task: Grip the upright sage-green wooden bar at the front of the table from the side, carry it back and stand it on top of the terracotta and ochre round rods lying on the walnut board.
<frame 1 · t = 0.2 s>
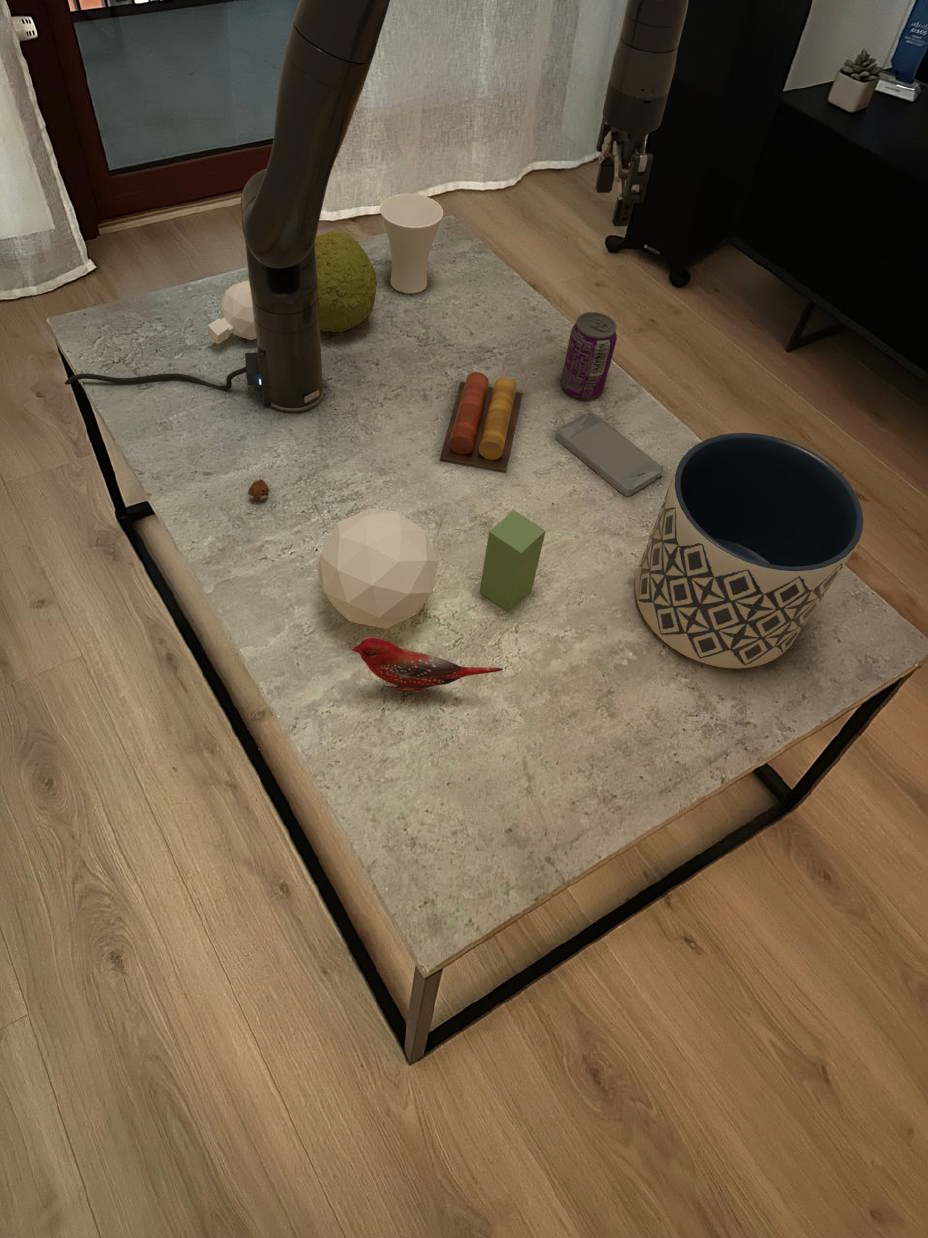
hand: (611, 207, 123), 29 cm above the table, tool pointing down, fingers open, 8 cm apart
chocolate: (260, 499, 125), on the table
decorative bird figurine: (424, 692, 109), on the table
geometric sphere: (377, 604, 116), on the table
fruit: (333, 317, 151), on the table
planter: (714, 603, 121), on the table
perfume bottle: (243, 335, 146), on the table
rod rack: (482, 426, 138), on the table
phone: (607, 456, 137), on the table
beverage can: (581, 388, 146), on the table
cup: (408, 284, 159), on the table
green bar: (505, 591, 119), on the table
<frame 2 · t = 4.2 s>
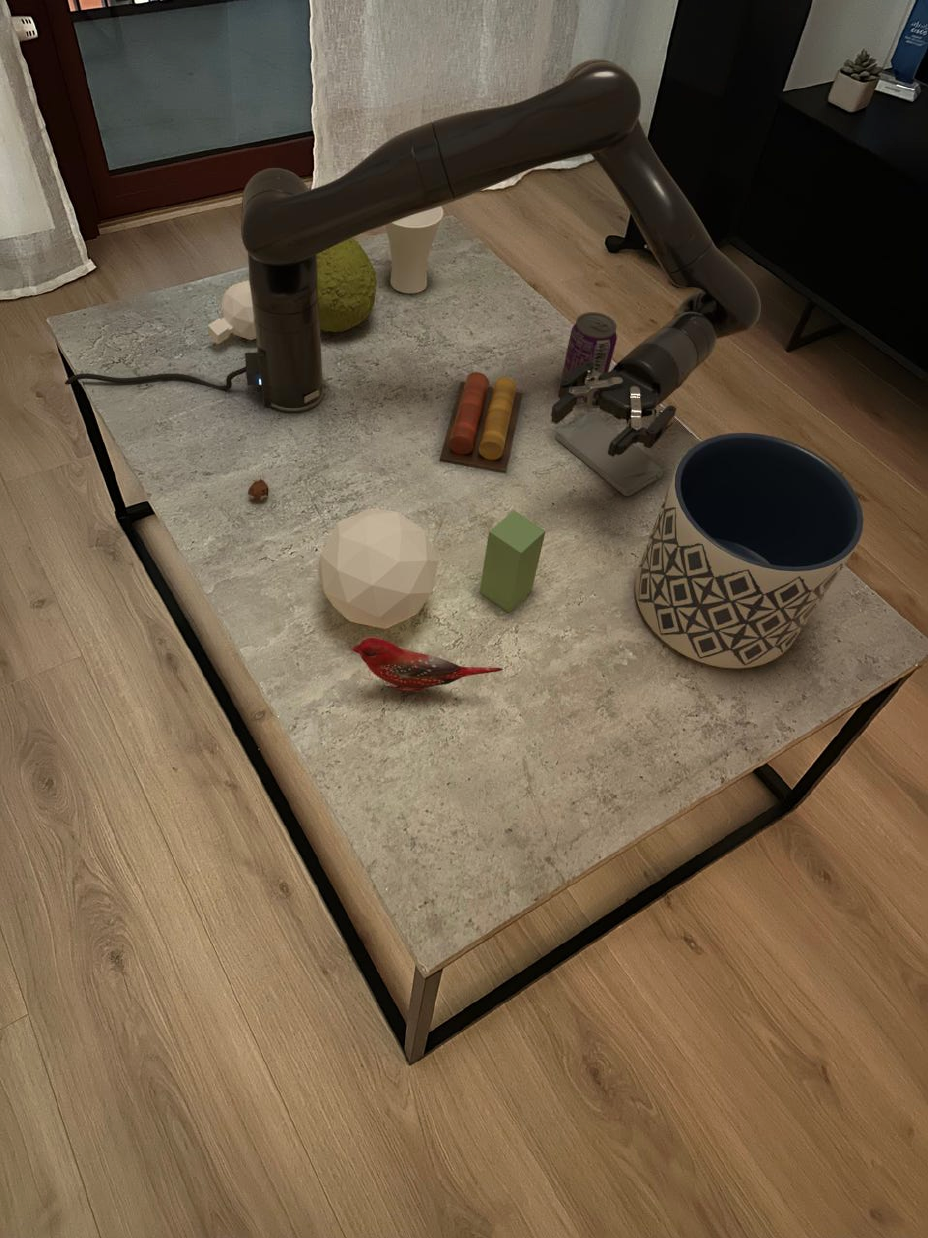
hand: (582, 433, 109), 20 cm above the table, tool horizontal, fingers open, 8 cm apart
nothing on the table moved.
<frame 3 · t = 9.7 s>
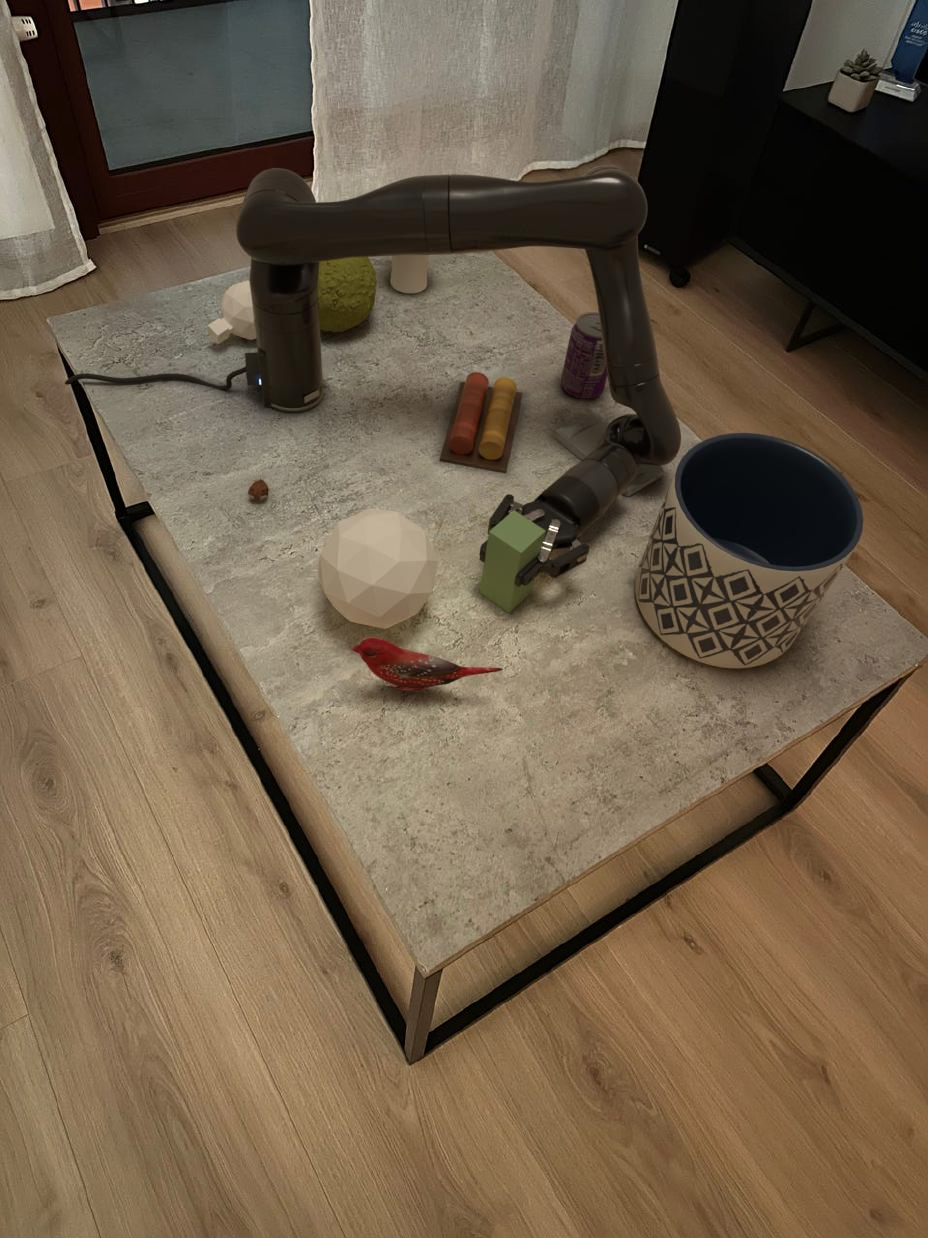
hand: (499, 569, 112), 7 cm above the table, tool horizontal, fingers closed on green bar, 5 cm apart
green bar: (505, 591, 119), on the table, touching gripper
everything else where it was.
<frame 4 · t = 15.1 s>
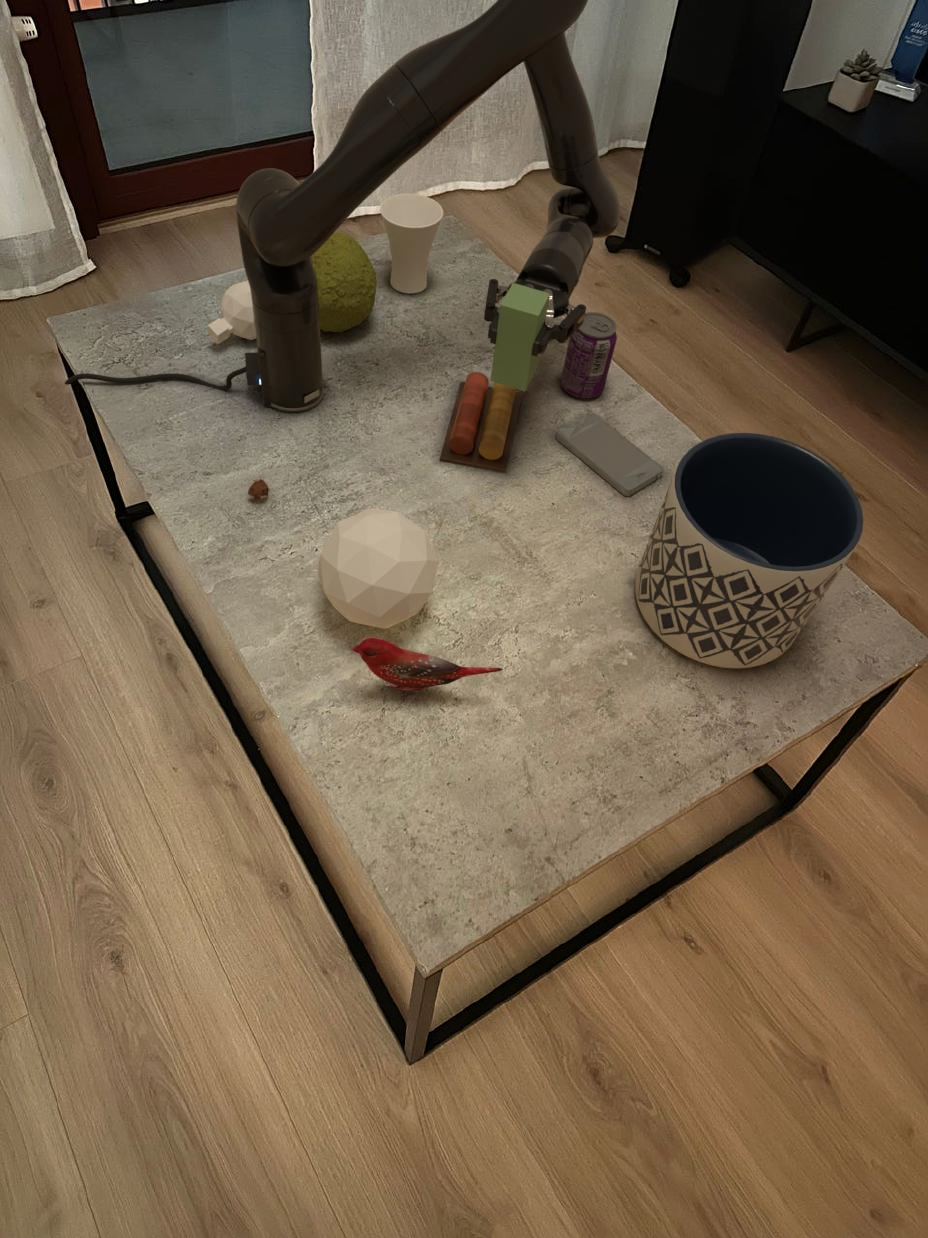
hand: (514, 343, 115), 22 cm above the table, tool horizontal, fingers closed on green bar, 5 cm apart
green bar: (513, 375, 122), point 15 cm above the table, touching gripper
everything else where it was.
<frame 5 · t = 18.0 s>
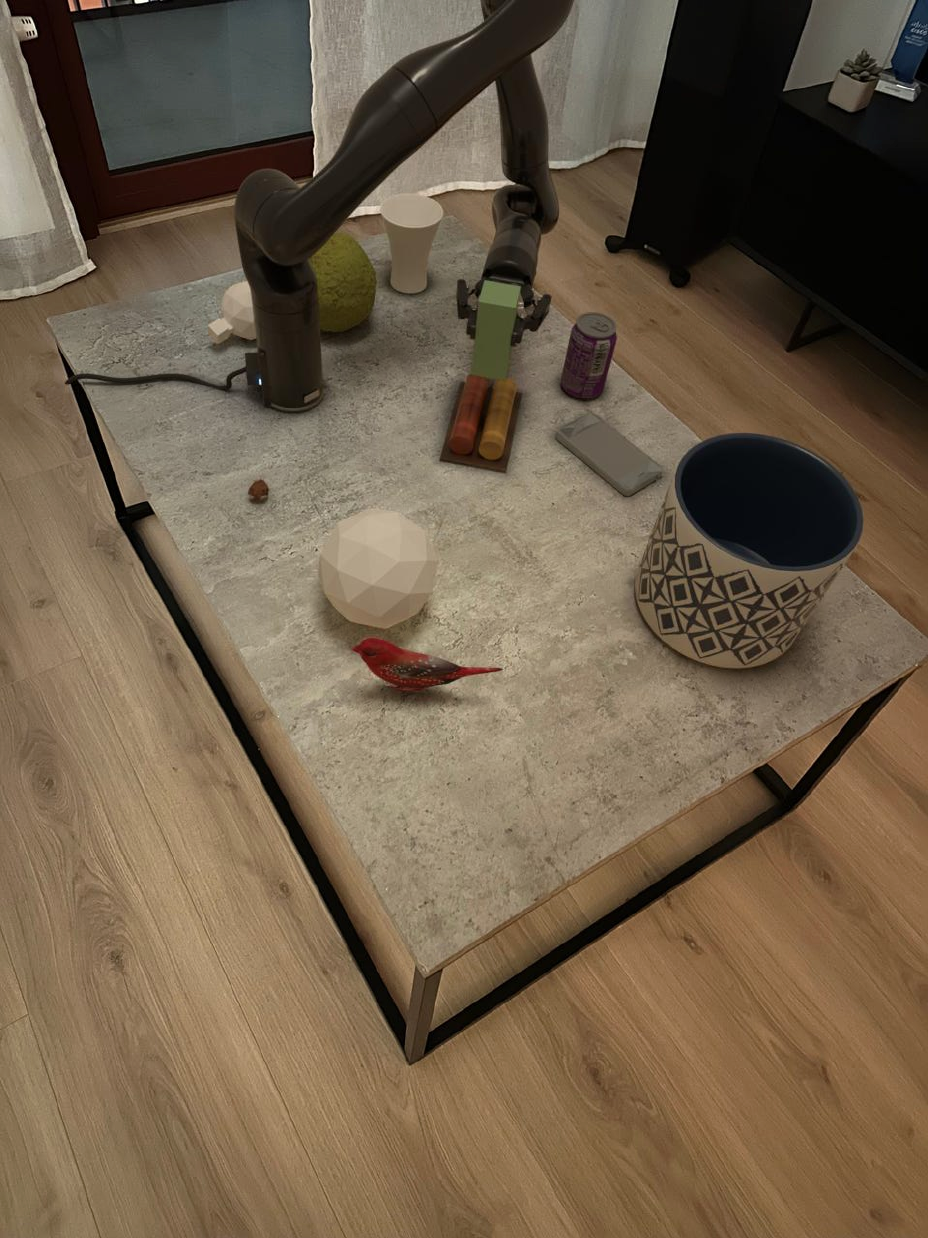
hand: (493, 337, 122), 18 cm above the table, tool horizontal, fingers closed on green bar, 5 cm apart
green bar: (490, 366, 129), point 11 cm above the table, touching gripper
everything else where it was.
when the fingers open (11 cm above the table, at t = 20.4 s): green bar stays where it is, resting on rod rack.
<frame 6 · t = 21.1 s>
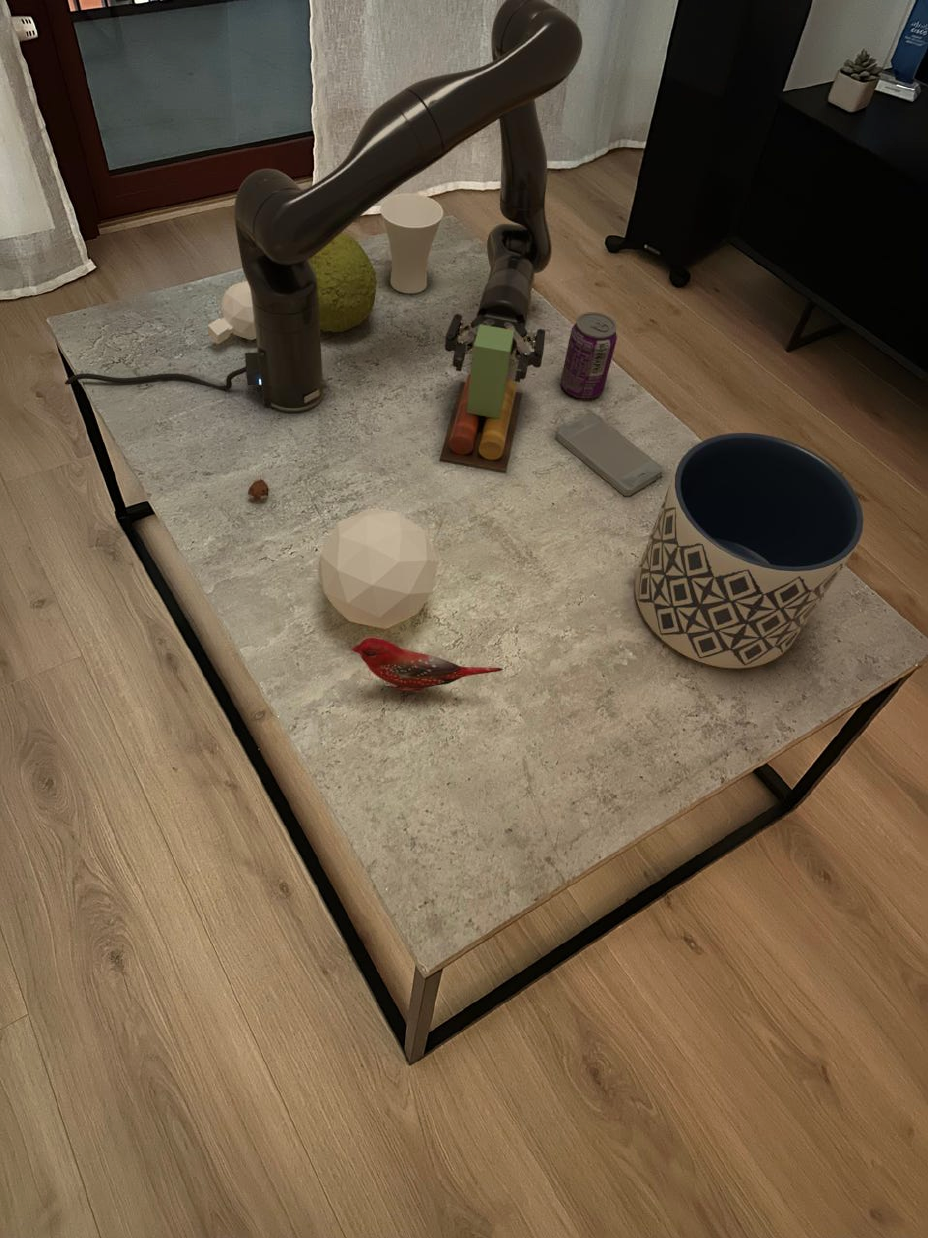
hand: (488, 371, 127), 12 cm above the table, tool horizontal, fingers open, 8 cm apart
green bar: (485, 405, 135), point 4 cm above the table, touching rod rack
everything else where it was.
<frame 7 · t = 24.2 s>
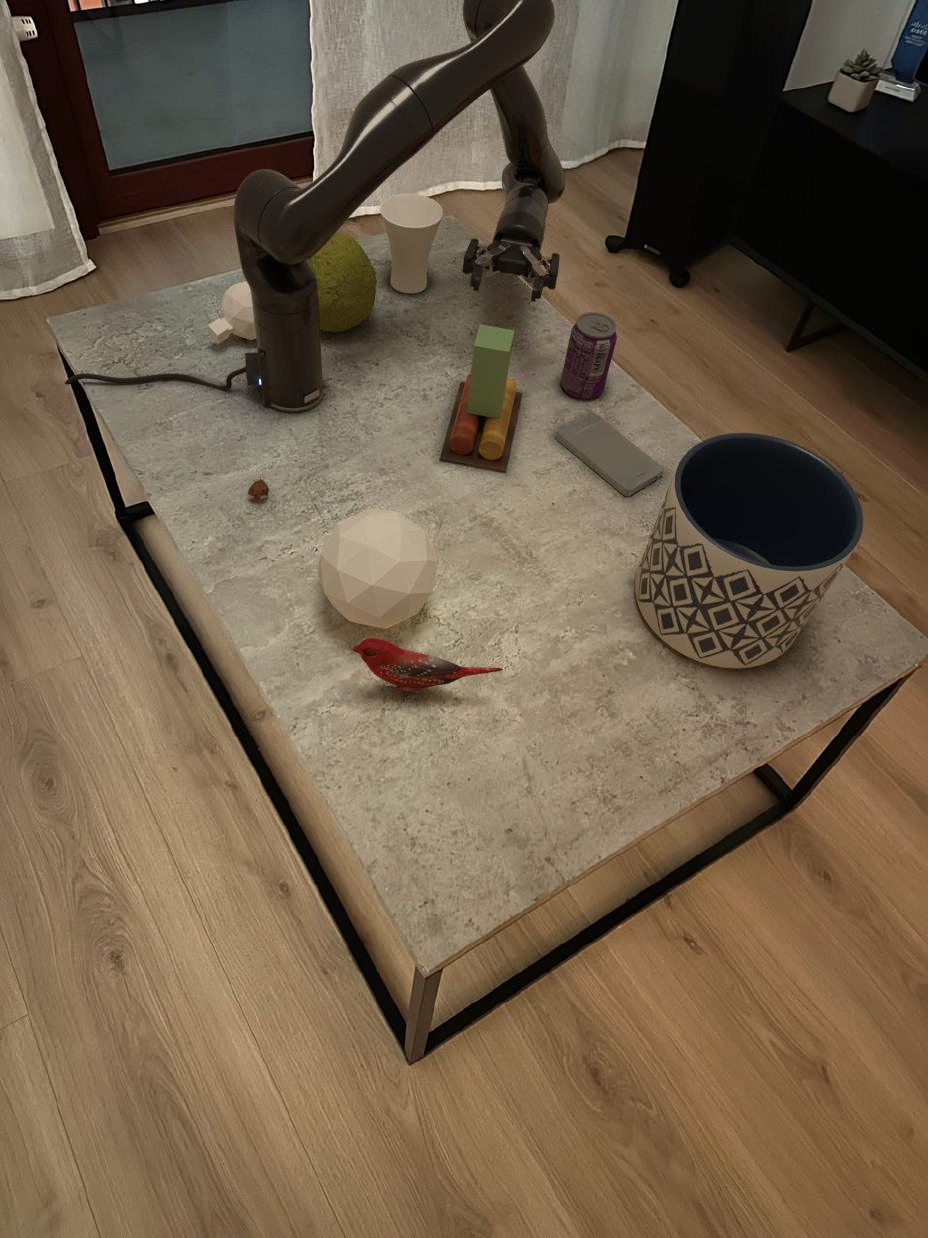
hand: (505, 291, 131), 17 cm above the table, tool horizontal, fingers open, 8 cm apart
nothing on the table moved.
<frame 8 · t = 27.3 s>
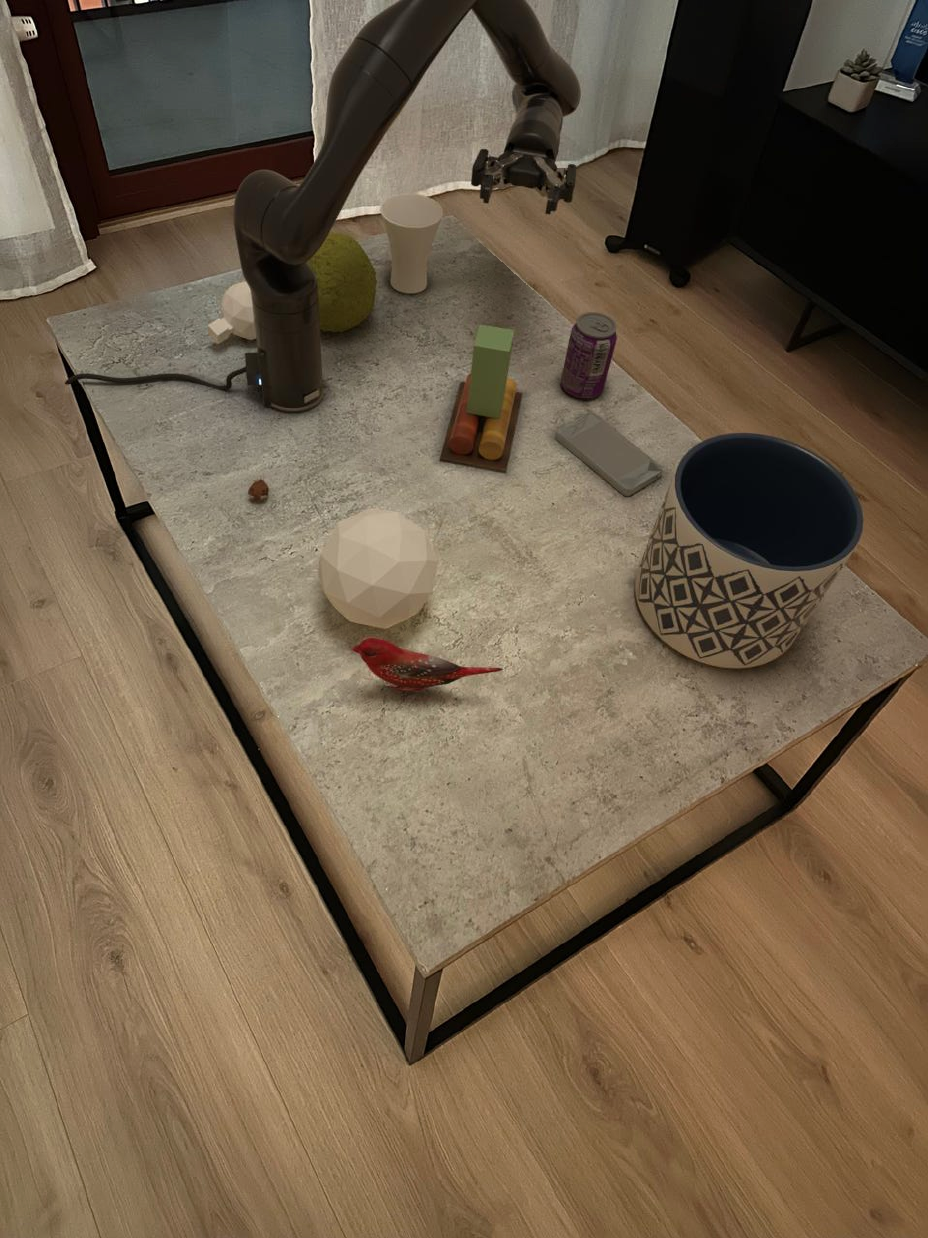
hand: (517, 202, 121), 30 cm above the table, tool horizontal, fingers open, 8 cm apart
nothing on the table moved.
at the end: green bar 0.1 cm off-centre on the rod rack, point 4.2 cm above the rod rack's base; green bar tilted 0°; the gripper is holding nothing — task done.
